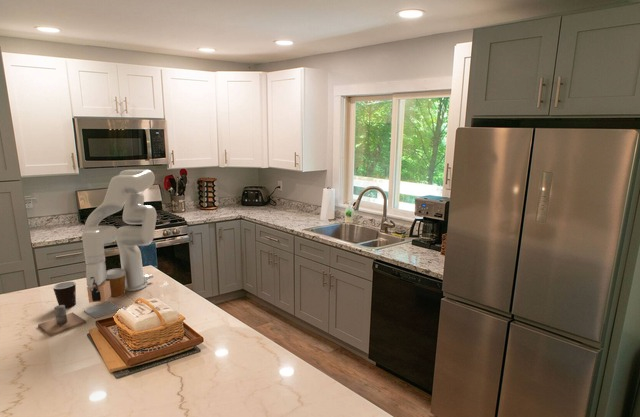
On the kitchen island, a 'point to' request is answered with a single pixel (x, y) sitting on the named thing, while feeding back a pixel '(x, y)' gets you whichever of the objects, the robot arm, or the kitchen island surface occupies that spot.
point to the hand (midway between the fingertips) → (100, 296)
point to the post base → (64, 327)
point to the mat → (102, 309)
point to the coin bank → (101, 292)
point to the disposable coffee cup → (116, 281)
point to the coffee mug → (66, 293)
